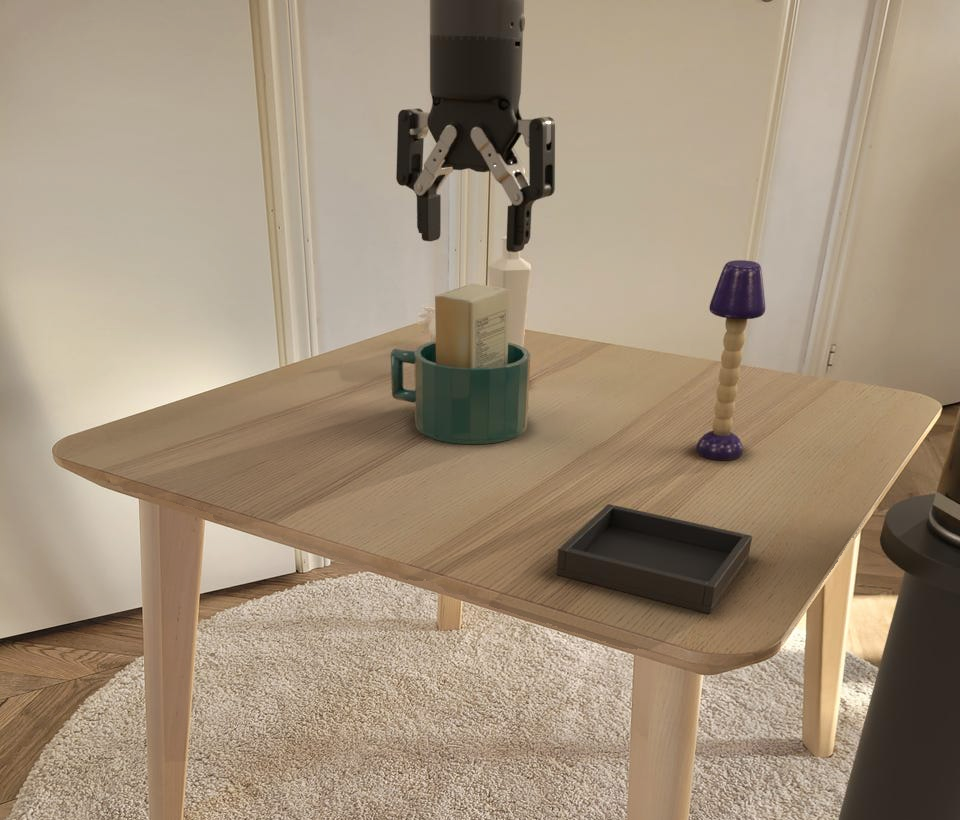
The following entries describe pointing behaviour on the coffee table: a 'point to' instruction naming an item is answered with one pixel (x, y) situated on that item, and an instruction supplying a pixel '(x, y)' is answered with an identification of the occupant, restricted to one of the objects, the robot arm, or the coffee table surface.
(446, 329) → the cosmetic box
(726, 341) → the toy lamp
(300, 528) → the coffee table surface
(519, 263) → the white bottle vase
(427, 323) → the cream spiky figurine
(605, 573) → the tray
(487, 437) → the teal coffee mug
